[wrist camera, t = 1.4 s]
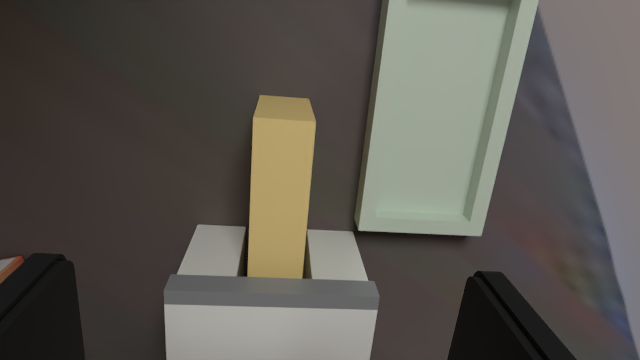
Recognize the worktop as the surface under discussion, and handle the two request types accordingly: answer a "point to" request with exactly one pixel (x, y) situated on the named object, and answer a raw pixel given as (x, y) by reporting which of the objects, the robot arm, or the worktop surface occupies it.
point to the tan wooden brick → (280, 186)
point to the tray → (439, 112)
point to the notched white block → (269, 302)
